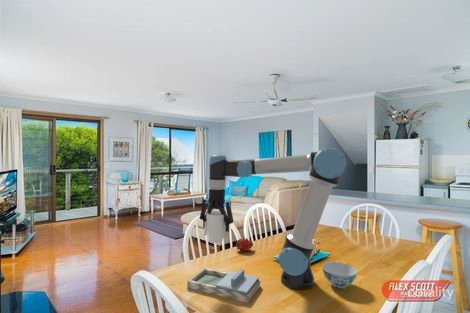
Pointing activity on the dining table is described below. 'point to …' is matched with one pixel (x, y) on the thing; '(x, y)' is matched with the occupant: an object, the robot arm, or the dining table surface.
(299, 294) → the dining table surface
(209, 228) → the foam cup
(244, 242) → the dragon fruit
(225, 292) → the grey flat rectangular tray
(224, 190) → the robot arm
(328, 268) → the chinaware
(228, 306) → the dining table surface
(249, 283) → the lid
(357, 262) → the dining table surface
